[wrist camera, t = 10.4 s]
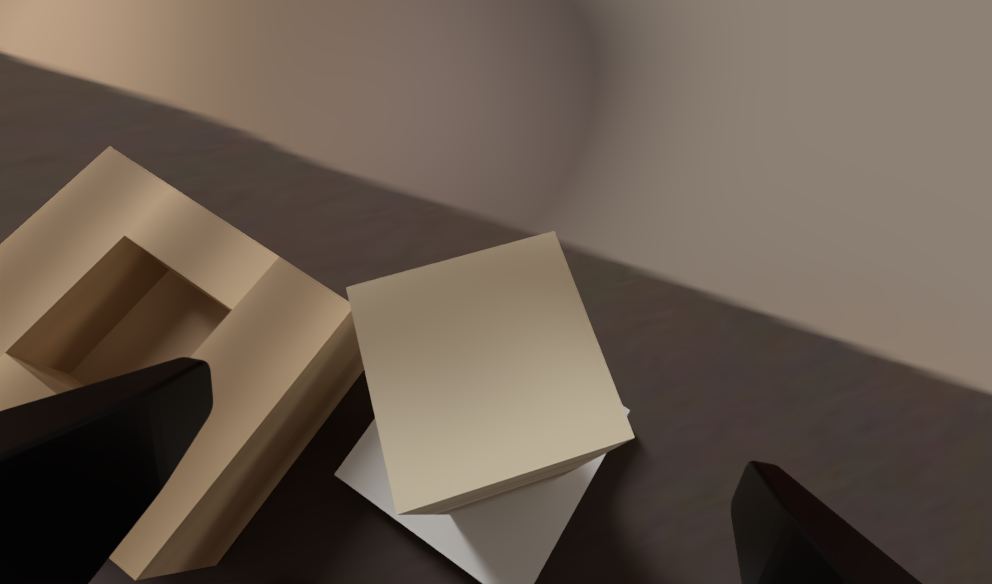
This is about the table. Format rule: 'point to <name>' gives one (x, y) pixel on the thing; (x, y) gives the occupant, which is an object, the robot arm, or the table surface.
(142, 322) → the block with square hole
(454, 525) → the board
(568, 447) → the tall beige wooden block
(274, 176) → the table surface
